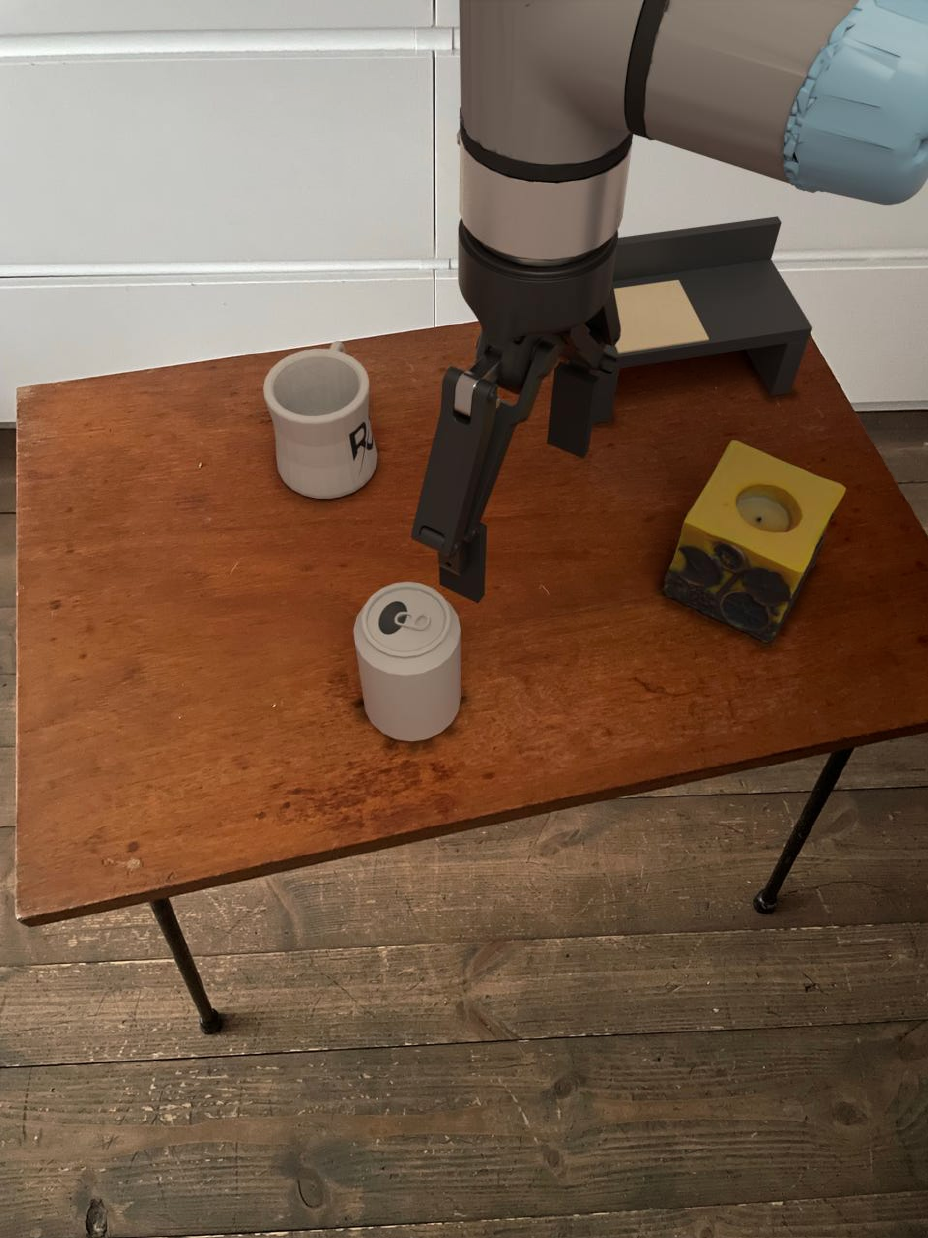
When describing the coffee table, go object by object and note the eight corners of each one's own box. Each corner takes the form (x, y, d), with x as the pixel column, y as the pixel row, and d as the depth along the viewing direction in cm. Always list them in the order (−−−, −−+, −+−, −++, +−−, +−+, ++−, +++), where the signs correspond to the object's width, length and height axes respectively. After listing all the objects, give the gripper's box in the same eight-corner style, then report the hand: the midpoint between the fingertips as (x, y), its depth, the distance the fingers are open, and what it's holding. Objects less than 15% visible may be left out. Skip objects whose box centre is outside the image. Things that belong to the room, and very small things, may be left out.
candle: (706, 515, 93) (730, 434, 85) (816, 562, 90) (851, 483, 82) (657, 595, 88) (677, 518, 80) (771, 648, 85) (804, 573, 77)
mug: (365, 510, 94) (356, 429, 85) (266, 496, 95) (247, 414, 86) (395, 412, 101) (389, 328, 92) (302, 400, 101) (288, 316, 93)
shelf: (749, 319, 108) (777, 215, 98) (790, 393, 102) (825, 290, 92) (559, 347, 106) (570, 243, 96) (590, 424, 100) (604, 322, 90)
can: (384, 653, 85) (373, 561, 75) (473, 677, 84) (474, 587, 74) (350, 731, 81) (334, 645, 71) (443, 758, 80) (440, 674, 70)
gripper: (589, 74, 56) (557, 376, 74) (317, 346, 44) (356, 630, 62) (719, 115, 54) (655, 415, 72) (471, 413, 42) (467, 687, 60)
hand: (517, 515), depth 67 cm, fingers open, 13 cm apart
